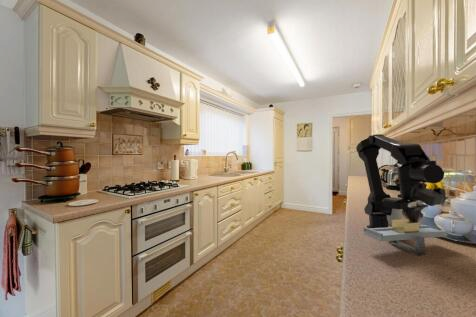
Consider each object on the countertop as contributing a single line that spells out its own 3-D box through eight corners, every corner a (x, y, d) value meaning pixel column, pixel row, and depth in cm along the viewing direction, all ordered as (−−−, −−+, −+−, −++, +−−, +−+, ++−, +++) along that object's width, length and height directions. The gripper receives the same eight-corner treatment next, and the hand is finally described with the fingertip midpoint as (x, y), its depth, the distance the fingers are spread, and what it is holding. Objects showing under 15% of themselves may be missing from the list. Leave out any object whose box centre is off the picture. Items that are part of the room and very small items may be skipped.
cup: (382, 224, 96) (381, 205, 96) (384, 219, 103) (383, 201, 103) (402, 226, 91) (401, 206, 91) (403, 221, 98) (402, 202, 99)
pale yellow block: (391, 230, 71) (391, 219, 71) (406, 229, 72) (406, 219, 73) (404, 234, 67) (403, 223, 67) (419, 233, 68) (418, 222, 68)
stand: (388, 242, 75) (387, 227, 75) (394, 242, 75) (393, 227, 75) (419, 255, 64) (418, 238, 64) (425, 254, 65) (424, 237, 65)
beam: (362, 235, 71) (362, 226, 71) (424, 230, 76) (423, 222, 76) (382, 243, 64) (382, 234, 64) (449, 238, 68) (448, 229, 68)
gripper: (411, 185, 61) (417, 237, 61) (458, 178, 65) (464, 227, 64) (379, 182, 72) (384, 226, 72) (421, 176, 76) (426, 218, 75)
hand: (414, 225), depth 70 cm, fingers closed
